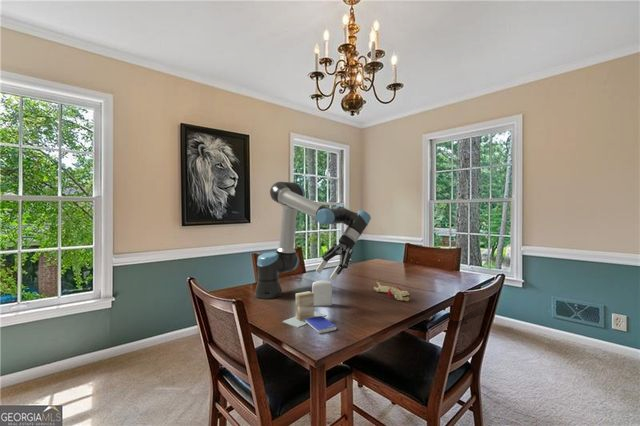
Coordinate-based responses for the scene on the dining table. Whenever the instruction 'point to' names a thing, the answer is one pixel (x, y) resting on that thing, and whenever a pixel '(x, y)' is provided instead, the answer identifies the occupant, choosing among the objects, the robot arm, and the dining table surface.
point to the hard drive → (320, 324)
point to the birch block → (304, 305)
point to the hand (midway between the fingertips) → (324, 275)
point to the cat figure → (393, 291)
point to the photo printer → (322, 293)
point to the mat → (297, 323)
